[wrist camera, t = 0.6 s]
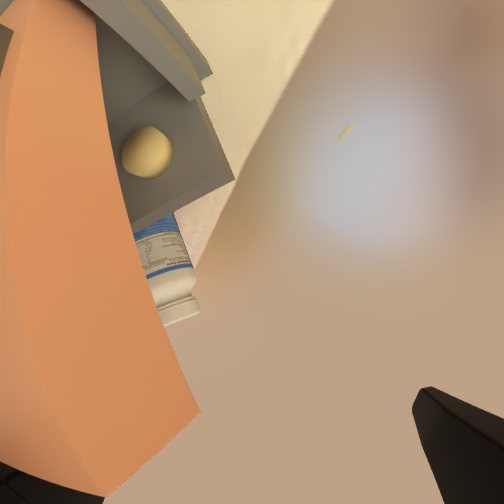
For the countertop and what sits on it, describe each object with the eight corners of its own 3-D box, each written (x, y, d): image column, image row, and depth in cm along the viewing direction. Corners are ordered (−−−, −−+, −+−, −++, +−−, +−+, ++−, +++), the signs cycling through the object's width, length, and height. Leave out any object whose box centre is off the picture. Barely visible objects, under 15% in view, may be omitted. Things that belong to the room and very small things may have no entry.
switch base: (-69, 57, 3) (-119, 216, 2) (66, -99, 1) (13, -66, 1) (96, 132, 12) (120, 242, 12) (206, 59, 11) (258, 168, 10)
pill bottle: (146, 225, 28) (179, 321, 27) (100, 226, 23) (134, 336, 22) (182, 197, 25) (222, 304, 24) (133, 193, 21) (175, 321, 19)
